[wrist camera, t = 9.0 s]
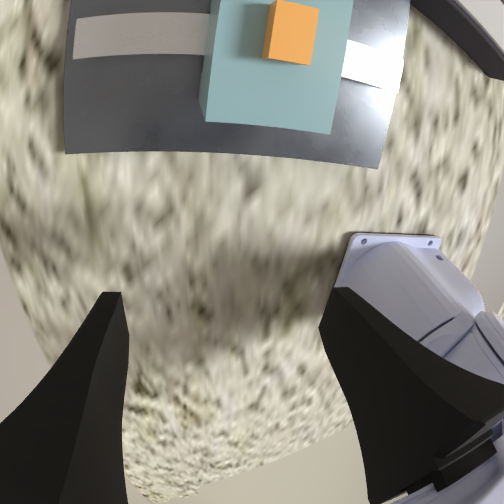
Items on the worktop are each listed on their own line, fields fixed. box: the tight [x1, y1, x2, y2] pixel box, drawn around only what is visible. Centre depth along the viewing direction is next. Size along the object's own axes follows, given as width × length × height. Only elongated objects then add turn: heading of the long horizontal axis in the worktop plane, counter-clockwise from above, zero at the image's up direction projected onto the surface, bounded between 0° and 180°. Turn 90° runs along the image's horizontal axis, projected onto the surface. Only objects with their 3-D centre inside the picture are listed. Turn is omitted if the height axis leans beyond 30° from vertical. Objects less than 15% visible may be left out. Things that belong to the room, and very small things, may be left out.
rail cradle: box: [63, 0, 411, 169], centre depth 12 cm, size 18×12×2 cm, turn 82°
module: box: [198, 0, 354, 135], centre depth 10 cm, size 4×6×7 cm, turn 172°
